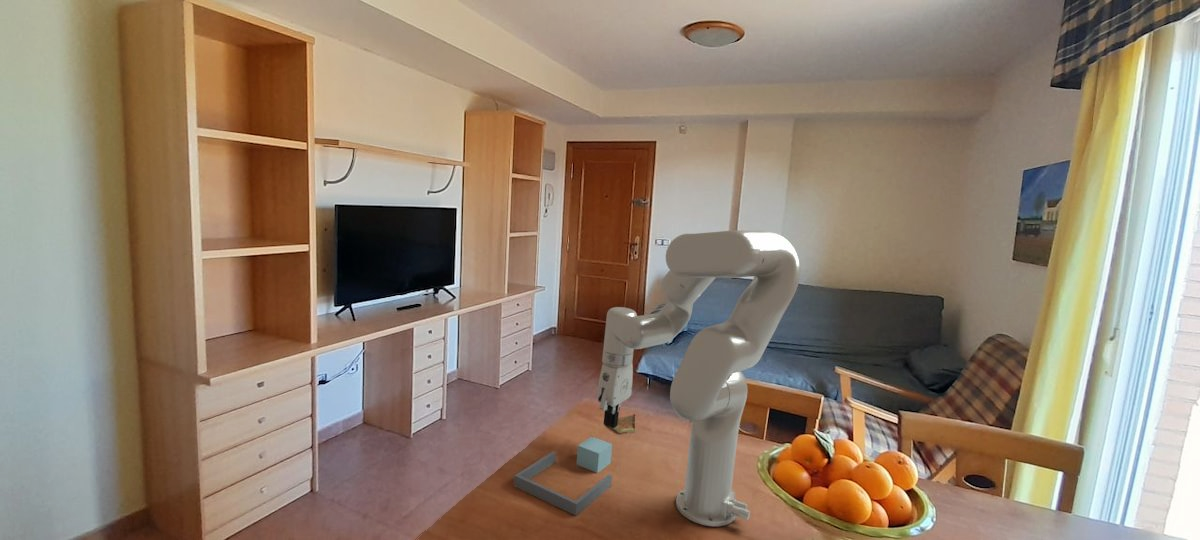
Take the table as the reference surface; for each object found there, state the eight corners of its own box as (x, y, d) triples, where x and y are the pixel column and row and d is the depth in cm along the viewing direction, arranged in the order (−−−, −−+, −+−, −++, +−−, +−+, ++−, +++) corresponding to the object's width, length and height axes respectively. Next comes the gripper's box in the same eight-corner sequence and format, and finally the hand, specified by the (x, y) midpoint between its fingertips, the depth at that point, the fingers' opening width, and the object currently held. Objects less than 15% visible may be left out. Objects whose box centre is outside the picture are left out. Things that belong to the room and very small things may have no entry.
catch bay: (611, 485, 113) (612, 475, 112) (575, 515, 101) (576, 504, 101) (552, 460, 122) (553, 451, 121) (513, 486, 110) (514, 475, 110)
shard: (634, 418, 150) (634, 412, 150) (652, 428, 144) (652, 422, 144) (605, 426, 143) (606, 420, 143) (623, 437, 137) (623, 431, 137)
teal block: (610, 463, 123) (612, 444, 122) (597, 473, 118) (598, 453, 117) (590, 455, 126) (591, 436, 125) (576, 464, 121) (577, 445, 120)
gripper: (615, 368, 117) (607, 441, 120) (644, 354, 130) (637, 420, 133) (588, 360, 121) (581, 431, 124) (619, 346, 134) (612, 411, 137)
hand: (610, 425), depth 128 cm, fingers closed
